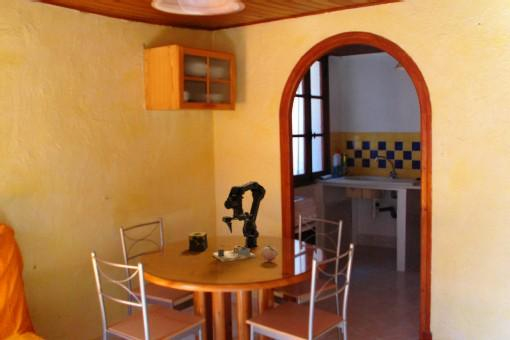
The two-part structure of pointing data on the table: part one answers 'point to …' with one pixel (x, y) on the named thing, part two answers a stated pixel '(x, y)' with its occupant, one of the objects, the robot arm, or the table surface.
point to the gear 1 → (235, 248)
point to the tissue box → (198, 241)
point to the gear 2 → (243, 251)
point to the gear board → (231, 255)
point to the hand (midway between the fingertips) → (238, 232)
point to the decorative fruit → (269, 253)
